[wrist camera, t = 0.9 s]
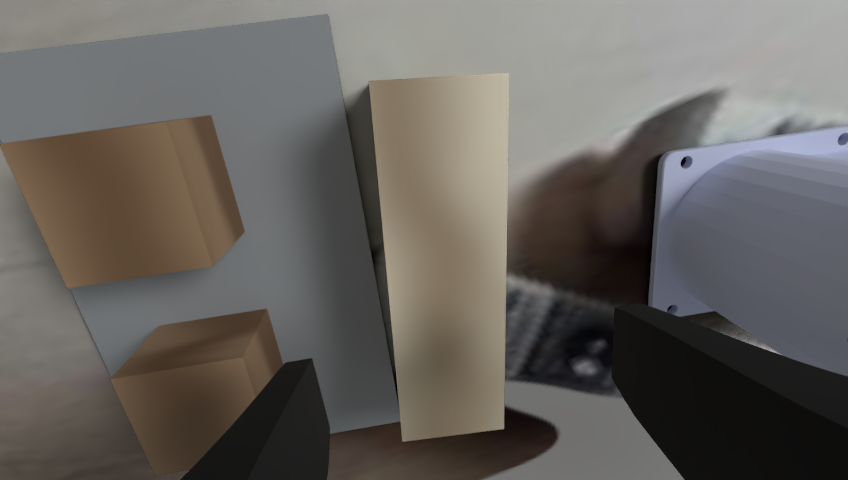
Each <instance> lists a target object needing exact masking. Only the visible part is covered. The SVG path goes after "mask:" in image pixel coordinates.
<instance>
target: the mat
mask: <svg viewBox="0 0 848 480" xmlns="http://www.w3.org/2000/svg"><path fill="white" fill-rule="evenodd" d="M207 115H211V116H212V119H213V123H214V126H215V130H216V133H217V137H218V140H219V144H220V147H221V150H222V154H223V157H224V161H225V164H226V168H227V171H228V175H229V178H230V182H231V185H232V189H233V192H234V195H235V199H236V202H237V206H238V209H239V213H240V216H241V220H242V223H243V227H244V230H245V232H244V233H243V234H242V235H241V237H240V238H239V239H238V240H237V241H236V242H235V243H234V244H233V245H232V246H231V247H230V248H229V249H228V251H227V252H226V253H225V254H224V255H223V256H222V257H221V258H220V259H219V260H218V261H217V262H216V263H215V265H214V266H212V267H206V268H199V269H193V270H186V271H179V272H173V273H166V274H160V275H153V276H147V277H140V278H133V279H127V280H120V281H114V282H107V283H101V284H94V285H87V286H81V287H74V288H70V290H71V292H72V295H73V297H74V299H75V301H76V303H77V305H78V307H79V309H80V312H81V314H82V316H83V318H84V320H85V322H86V324H87V327H88V329H89V331H90V333H91V335H92V337H93V339H94V342H95V344H96V346H97V348H98V350H99V352H100V354H101V357H102V359H103V361H104V363H105V365H106V367H107V369H108V372H109V374H110V376H111V378H112V376H113V375H114V374H115V373H116V372H117V371H118V370H119V369H120V368H121V367H122V366H123V365H124V363H125V362H126V361H127V360H128V359H129V358H130V357H131V356H132V355H133V354H134V353H135V352H136V350H137V349H138V348H139V347H140V346H141V345H142V344H143V343H144V342H145V341H146V340H147V338H148V337H149V336H150V335H151V334H152V333H153V332H154V331H155V330H156V329H157V328H158V327H159V326H160V325H166V324H172V323H179V322H185V321H191V320H198V319H204V318H210V317H216V316H223V315H229V314H235V313H242V312H248V311H254V310H260V309H267V310H268V313H269V317H270V320H271V324H272V327H273V331H274V334H275V337H276V341H277V344H278V348H279V351H280V355H281V358H282V362H283V365H284V364H285V362H291V361H297V360H303V359H309V358H312V359H313V363H314V367H315V371H316V375H317V379H318V382H319V386H320V390H321V394H322V398H323V402H324V406H325V410H326V413H327V417H328V421H329V425H330V434H332V433H337V432H343V431H349V430H354V429H360V428H366V427H371V426H377V425H382V424H388V423H394V422H399V421H400V410H399V404H398V399H397V393H396V387H395V382H394V376H393V371H392V365H391V360H390V354H389V349H388V343H387V338H386V332H385V327H384V321H383V315H382V310H381V304H380V299H379V293H378V288H377V282H376V277H375V271H374V266H373V260H372V254H371V249H370V243H369V238H368V232H367V227H366V221H365V216H364V210H363V205H362V199H361V194H360V188H359V182H358V177H357V171H356V166H355V160H354V155H353V149H352V144H351V138H350V133H349V127H348V121H347V116H346V110H345V105H344V99H343V94H342V88H341V83H340V77H339V72H338V66H337V61H336V55H335V49H334V44H333V38H332V33H331V27H330V22H329V16H328V14H324V15H316V16H307V17H299V18H291V19H282V20H274V21H266V22H257V23H249V24H241V25H232V26H224V27H216V28H207V29H199V30H191V31H182V32H174V33H166V34H157V35H149V36H141V37H133V38H124V39H116V40H108V41H99V42H91V43H83V44H74V45H66V46H58V47H49V48H41V49H33V50H24V51H16V52H8V53H0V140H1V143H9V142H16V141H23V140H30V139H37V138H44V137H51V136H58V135H65V134H72V133H79V132H86V131H93V130H101V129H109V128H116V127H124V126H131V125H139V124H147V123H154V122H162V121H169V120H177V119H185V118H192V117H200V116H207Z"/></svg>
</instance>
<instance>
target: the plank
mask: <svg viewBox="0 0 848 480" xmlns="http://www.w3.org/2000/svg"><path fill="white" fill-rule="evenodd" d="M369 90H370V100H371V111H372V122H373V132H374V143H375V154H376V164H377V175H378V186H379V196H380V207H381V218H382V229H383V239H384V250H385V261H386V271H387V282H388V293H389V303H390V314H391V325H392V335H393V346H394V357H395V367H396V378H397V389H398V399H399V410H400V421H401V432H402V442H405V441H413V440H421V439H429V438H436V437H444V436H452V435H460V434H468V433H476V432H483V431H491V430H499V429H504V396H505V395H504V393H505V326H506V255H507V183H508V112H509V73H501V74H483V75H465V76H448V77H430V78H412V79H395V80H377V81H369Z"/></svg>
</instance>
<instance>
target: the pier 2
mask: <svg viewBox="0 0 848 480" xmlns="http://www.w3.org/2000/svg"><path fill="white" fill-rule="evenodd" d="M282 366H283V362H282V358H281V355H280V351H279V348H278V344H277V341H276V337H275V334H274V331H273V327H272V324H271V320H270V317H269V313H268V310H267V309H260V310H254V311H248V312H242V313H235V314H229V315H223V316H216V317H210V318H204V319H198V320H191V321H185V322H179V323H172V324H166V325H160V326H159V327H158V328H157V329H156V330H155V331H154V332H153V333H152V334H151V335H150V336H149V337H148V338H147V340H146V341H145V342H144V343H143V344H142V345H141V346H140V347H139V348H138V349H137V350H136V352H135V353H134V354H133V355H132V356H131V357H130V358H129V359H128V360H127V361H126V362H125V363H124V365H123V366H122V367H121V368H120V369H119V370H118V371H117V372H116V373H115V374H114V375H113V376H112V378H111V379H110V381H111V383H112V385H113V387H114V389H115V391H116V393H117V396H118V398H119V400H120V402H121V404H122V406H123V408H124V410H125V413H126V415H127V417H128V419H129V421H130V423H131V425H132V428H133V430H134V432H135V434H136V436H137V438H138V440H139V442H140V445H141V447H142V449H143V451H144V453H145V455H146V457H147V459H148V462H149V464H150V466H151V468H152V470H153V472H154V474H155V476H156V475H162V474H167V473H173V472H178V471H184V470H190V469H191V468H192V467H193V466H194V465H195V464H196V463H197V462H198V461H199V460H200V459H201V458H202V457H203V456H204V455H205V454H206V453H207V451H208V450H209V449H210V448H211V447H212V446H213V445H214V444H215V443H216V442H217V441H218V440H219V439H220V438H221V437H222V436H223V434H224V433H225V432H226V431H227V430H228V429H229V428H230V427H231V426H232V425H233V423H234V422H235V421H236V420H237V419H238V418H239V416H240V415H241V414H242V413H243V412H244V411H245V409H246V408H247V407H248V406H249V405H250V404H251V403H252V401H253V400H254V399H255V398H256V397H257V395H258V394H259V393H260V392H261V391H262V389H263V388H264V387H265V386H266V385H267V383H268V382H269V381H270V380H271V379H272V377H273V376H274V375H275V374H276V373H277V372H278V370H279V369H280V368H281V367H282Z"/></svg>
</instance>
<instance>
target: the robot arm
mask: <svg viewBox="0 0 848 480" xmlns="http://www.w3.org/2000/svg"><path fill="white" fill-rule="evenodd" d="M839 136H840V138H839ZM838 138H839V140H838ZM684 157H686V162H685V164H684V165H683V166H681V164H680V163H681V160H682V159H683V158H684ZM671 305H672V307H671V308H670V309H669V310H667V309H668V307H669V306H671ZM711 311H716V312H717V313H719V314H720V315H722V316H723V317H725V318H726V319H728V320H730V321H731V322H733V323H734V324H736V325H737V326H739V327H740V328H742V329H743V330H745V331H746V332H748V333H749V334H751V335H752V336H754V337H755V338H757V339H759V340H760V341H762V342H763V343H765V344H766V345H768V346H769V347H771V348H772V349H774V350H775V351H777V352H778V353H780V354H781V355H779V354H776V353H773V352H770V351H768V350H765V349H762V348H759V347H757V346H754V345H751V344H748V343H746V342H743V341H740V340H738V339H735V338H732V337H730V336H727V335H724V334H722V333H719V332H717V331H714V330H711V329H709V328H706V327H704V326H701V325H699V324H696V323H693V322H691V321H688V320H686V319H683V318H681V317H682V316H688V315H693V314H699V313H705V312H711ZM782 355H783V356H782ZM612 379H613V381H614V382H615V384H616V386H617V388H618V389H619V391H620V393H621V394H622V396H623V398H624V400H625V401H626V403H627V404H628V406H629V408H630V409H631V411H632V412H633V414H634V416H635V417H636V418H637V419H638V421H639V422H640V423H641V425H642V426H643V427H644V429H645V430H646V431H647V433H648V434H649V435H650V436H651V438H652V439H653V440H654V441H655V443H656V444H657V445H658V447H659V448H660V449H661V450H662V452H663V453H664V454H665V455H666V457H667V458H668V459H669V460H670V462H671V463H672V464H673V465H674V467H675V468H676V469H677V471H678V472H679V473H680V474H681V476H682V477H683V478H684V479H685V480H848V125H845V126H838V127H831V128H824V129H817V130H810V131H803V132H796V133H790V134H783V135H776V136H769V137H762V138H755V139H748V140H741V141H735V142H728V143H721V144H714V145H707V146H700V147H693V148H686V149H680V150H673V151H669V152H666V153H665V154H663V155H662V157H661V158H660V160H659V163H658V175H657V188H656V202H655V216H654V230H653V243H652V257H651V271H650V285H649V298H648V306H647V305H644V304H640V303H637V304H631V305H625V306H619V307H615V310H614V334H613V358H612ZM329 444H330V425H329V421H328V417H327V413H326V410H325V406H324V402H323V398H322V394H321V390H320V386H319V382H318V379H317V375H316V371H315V367H314V363H313V359H312V358H309V359H303V360H297V361H291V362H285V364H284V365H283V366H282V367H281V368H280V369H279V370H278V372H277V373H276V374H275V375H274V376H273V377H272V379H271V380H270V381H269V382H268V383H267V385H266V386H265V387H264V388H263V389H262V391H261V392H260V393H259V394H258V395H257V397H256V398H255V399H254V400H253V401H252V403H251V404H250V405H249V406H248V407H247V408H246V409H245V411H244V412H243V413H242V414H241V415H240V416H239V418H238V419H237V420H236V421H235V422H234V423H233V425H232V426H231V427H230V428H229V429H228V430H227V431H226V432H225V433H224V434H223V436H222V437H221V438H220V439H219V440H218V441H217V442H216V443H215V444H214V445H213V446H212V447H211V448H210V449H209V450H208V451H207V453H206V454H205V455H204V456H203V457H202V458H201V459H200V460H199V461H198V462H197V463H196V464H195V465H194V466H193V467H192V468H191V470H190V471H189V472H188V473H187V474H186V475H185V476H184V477H183V478H182V479H181V480H327V475H328V463H329Z"/></svg>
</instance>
